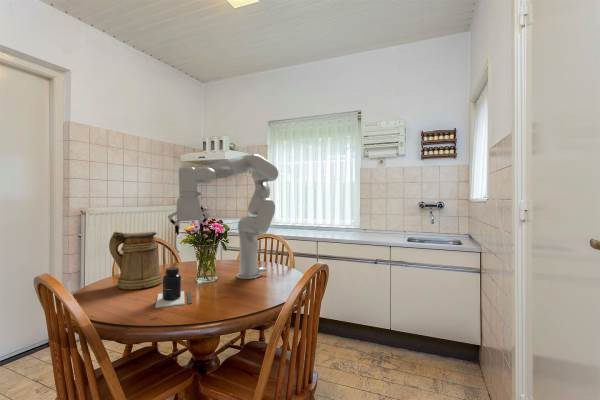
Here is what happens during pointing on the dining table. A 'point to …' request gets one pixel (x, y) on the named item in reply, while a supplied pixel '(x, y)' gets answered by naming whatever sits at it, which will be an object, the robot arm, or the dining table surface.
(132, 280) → the tankard
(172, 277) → the supplement bottle
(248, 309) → the dining table surface
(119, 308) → the dining table surface
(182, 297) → the white tile with strip
